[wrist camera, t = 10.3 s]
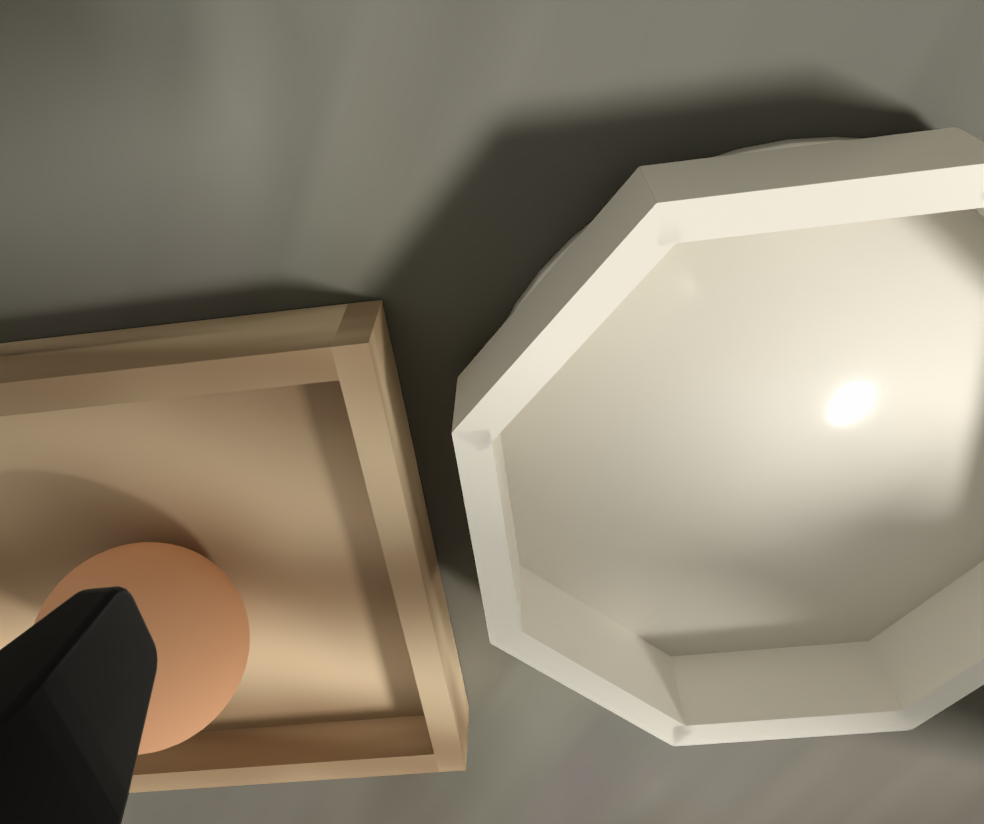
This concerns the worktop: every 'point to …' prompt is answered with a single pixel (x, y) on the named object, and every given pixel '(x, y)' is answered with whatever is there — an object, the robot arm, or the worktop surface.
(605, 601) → the bowl
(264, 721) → the tray
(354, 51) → the worktop surface
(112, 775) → the robot arm
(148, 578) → the ball
